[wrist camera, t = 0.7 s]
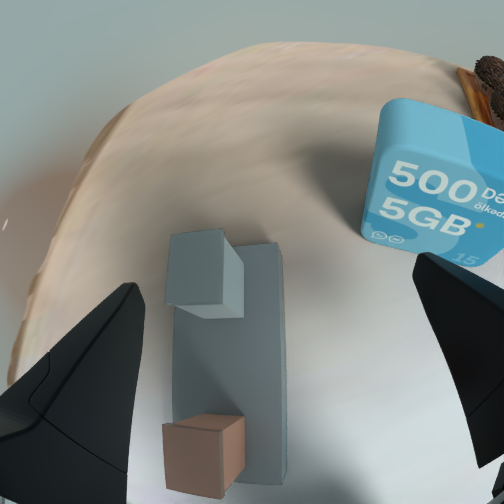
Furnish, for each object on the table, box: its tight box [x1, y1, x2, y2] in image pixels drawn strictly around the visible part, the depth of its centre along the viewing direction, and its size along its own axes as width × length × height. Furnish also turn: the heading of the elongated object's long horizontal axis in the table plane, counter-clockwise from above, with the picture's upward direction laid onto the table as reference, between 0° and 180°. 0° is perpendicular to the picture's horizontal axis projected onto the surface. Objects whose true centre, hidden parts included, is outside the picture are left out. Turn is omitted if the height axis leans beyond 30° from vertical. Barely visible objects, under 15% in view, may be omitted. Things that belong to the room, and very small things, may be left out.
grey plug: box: [165, 228, 244, 319], centre depth 19 cm, size 4×3×8 cm
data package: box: [361, 98, 504, 267], centre depth 16 cm, size 12×4×12 cm, turn 71°
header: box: [172, 242, 287, 485], centre depth 20 cm, size 18×8×3 cm, turn 1°
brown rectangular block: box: [162, 413, 245, 499], centre depth 15 cm, size 4×3×8 cm
